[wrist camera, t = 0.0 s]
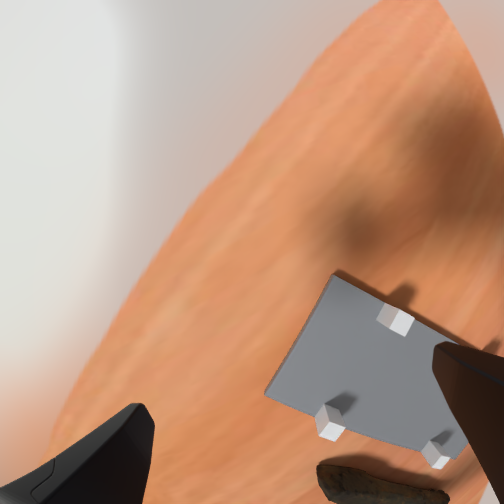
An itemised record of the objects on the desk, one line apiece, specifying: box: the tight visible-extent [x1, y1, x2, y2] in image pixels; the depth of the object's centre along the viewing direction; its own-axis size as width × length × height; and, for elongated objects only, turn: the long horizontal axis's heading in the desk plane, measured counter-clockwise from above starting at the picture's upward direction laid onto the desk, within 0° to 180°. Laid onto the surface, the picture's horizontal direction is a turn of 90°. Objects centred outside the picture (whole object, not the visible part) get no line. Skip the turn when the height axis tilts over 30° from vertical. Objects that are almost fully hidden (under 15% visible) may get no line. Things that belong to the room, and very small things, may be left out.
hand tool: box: [316, 465, 450, 504], centre depth 20 cm, size 19×4×5 cm, turn 56°
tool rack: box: [264, 275, 468, 469], centre depth 20 cm, size 11×24×4 cm, turn 62°
